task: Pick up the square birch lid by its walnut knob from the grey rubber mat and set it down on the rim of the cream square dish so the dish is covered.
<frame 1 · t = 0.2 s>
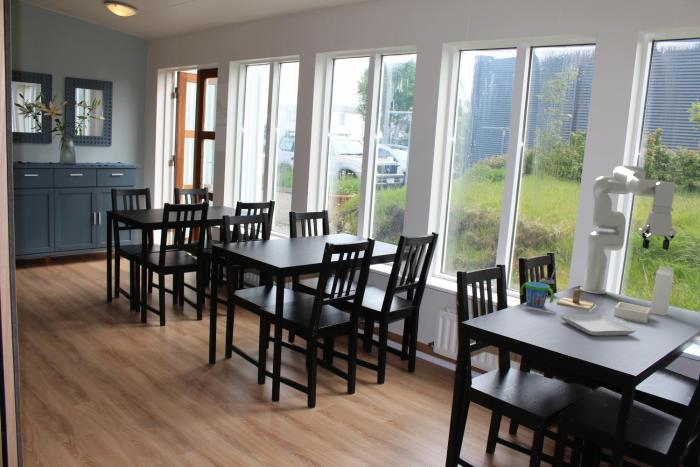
hand: (655, 248, 259), 31 cm above the table, tool pointing down, fingers open, 9 cm apart
salad plate: (595, 330, 238), on the table
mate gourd: (546, 295, 291), on the table
milk: (658, 313, 272), on the table
mat: (575, 305, 273), on the table
lid: (575, 304, 273), point 1 cm above the table, touching mat
cream square dish: (631, 317, 261), on the table
snack cup: (534, 306, 266), on the table
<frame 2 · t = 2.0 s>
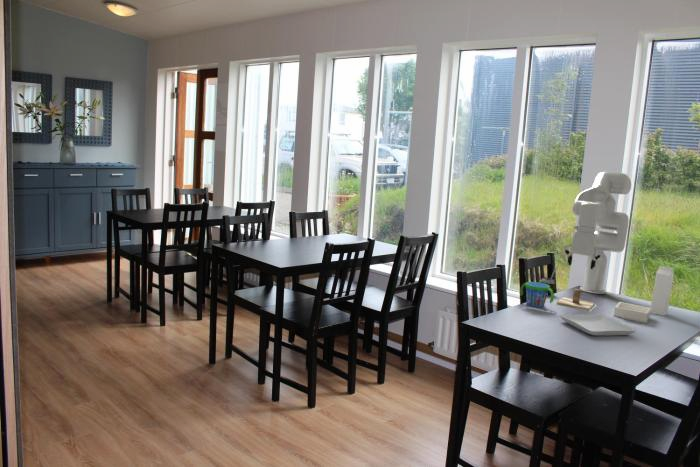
hand: (580, 266, 270), 19 cm above the table, tool pointing down, fingers open, 9 cm apart
nothing on the table moved.
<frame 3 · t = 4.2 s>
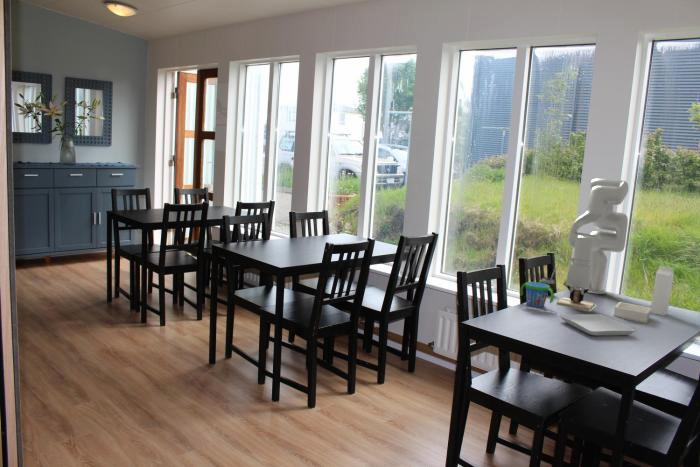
hand: (575, 300, 273), 2 cm above the table, tool pointing down, fingers closed on lid, 3 cm apart
lid: (575, 304, 273), point 1 cm above the table, touching gripper, mat
everything else where it was.
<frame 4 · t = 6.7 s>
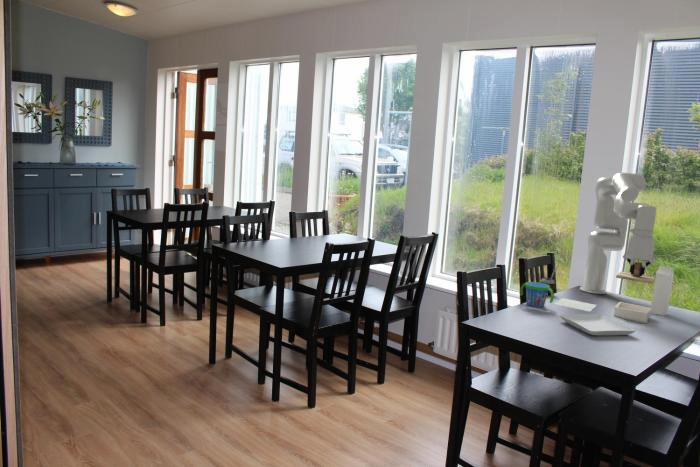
hand: (636, 274, 258), 19 cm above the table, tool pointing down, fingers closed on lid, 3 cm apart
lid: (635, 278, 258), point 18 cm above the table, touching gripper
everything else where it was.
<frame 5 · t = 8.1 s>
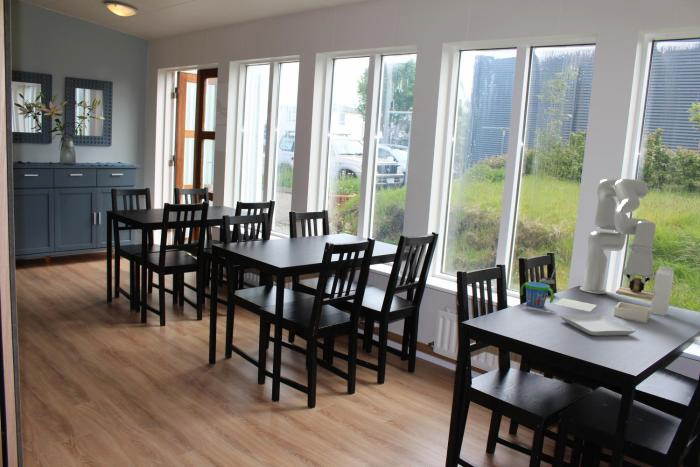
hand: (636, 290, 259), 12 cm above the table, tool pointing down, fingers closed on lid, 3 cm apart
lid: (635, 294, 259), point 11 cm above the table, touching gripper
everything else where it was.
when the fingers open (7 cm above the table, at t = 9.2 s): lid drops 1 cm, resting on cream square dish.
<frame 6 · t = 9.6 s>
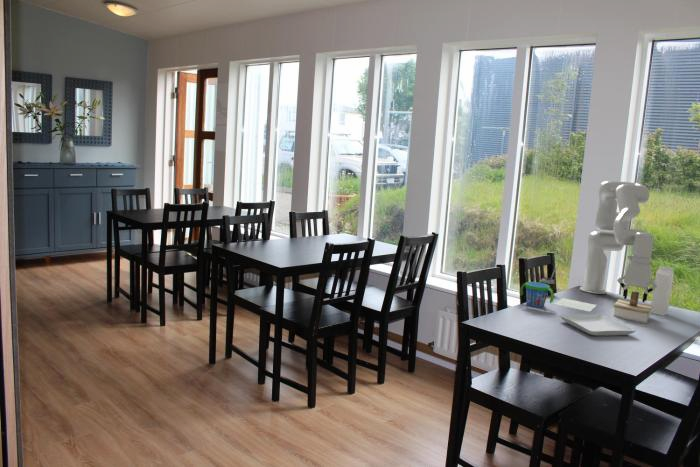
hand: (634, 299, 259), 8 cm above the table, tool pointing down, fingers open, 6 cm apart
lid: (632, 307, 260), point 4 cm above the table, touching cream square dish
everything else where it was.
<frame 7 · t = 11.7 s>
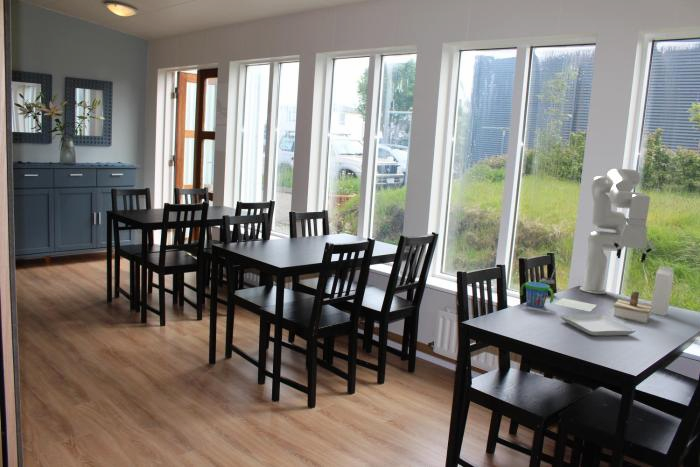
hand: (630, 260, 264), 25 cm above the table, tool pointing down, fingers open, 9 cm apart
nothing on the table moved.
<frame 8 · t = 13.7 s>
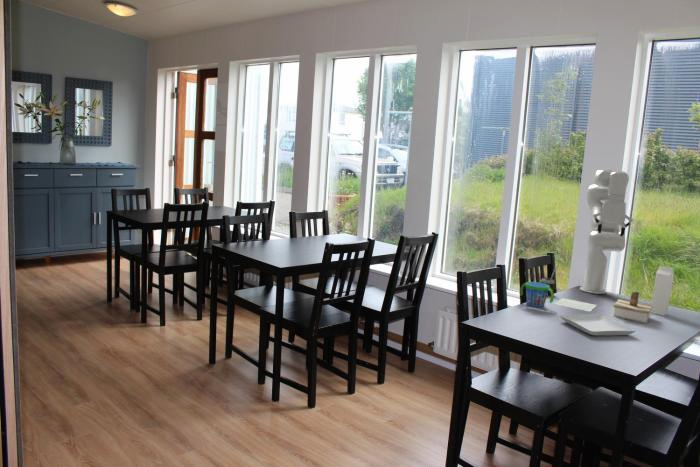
hand: (610, 234, 278), 33 cm above the table, tool pointing down, fingers open, 9 cm apart
nothing on the table moved.
at the end: lid 0.1 cm off-centre on the cream square dish, point 4.5 cm above the cream square dish's base; lid tilted 0°; the gripper is holding nothing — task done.
